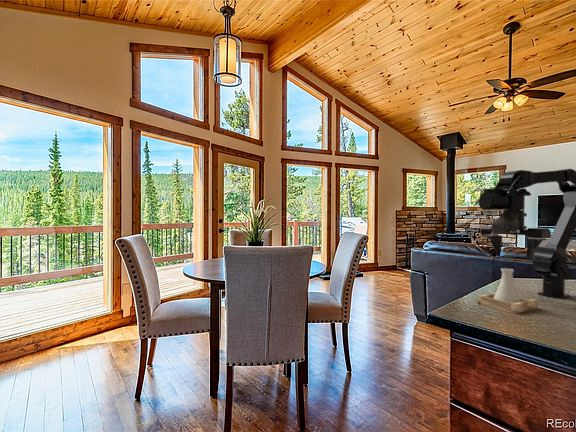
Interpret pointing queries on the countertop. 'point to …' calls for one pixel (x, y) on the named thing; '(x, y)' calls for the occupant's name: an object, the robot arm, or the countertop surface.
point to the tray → (507, 304)
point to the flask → (507, 287)
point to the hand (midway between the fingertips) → (513, 258)
